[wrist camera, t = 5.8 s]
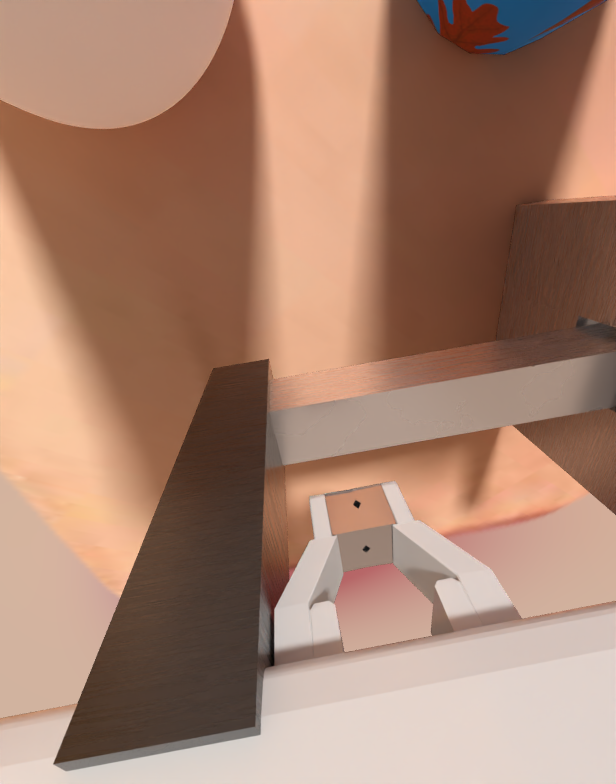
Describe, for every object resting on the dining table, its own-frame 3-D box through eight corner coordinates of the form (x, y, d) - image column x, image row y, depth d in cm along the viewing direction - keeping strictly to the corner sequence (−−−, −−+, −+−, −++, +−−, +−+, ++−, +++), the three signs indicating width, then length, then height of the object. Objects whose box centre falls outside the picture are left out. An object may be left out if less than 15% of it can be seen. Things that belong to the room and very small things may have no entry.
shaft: (579, 305, 17) (1346, 523, 5) (561, 371, 19) (1077, 646, 7) (213, 368, 17) (53, 763, 5) (232, 429, 19) (155, 819, 7)
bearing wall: (548, 199, 19) (856, 179, 9) (510, 398, 26) (659, 512, 16) (516, 205, 19) (787, 190, 9) (486, 402, 26) (620, 519, 16)
